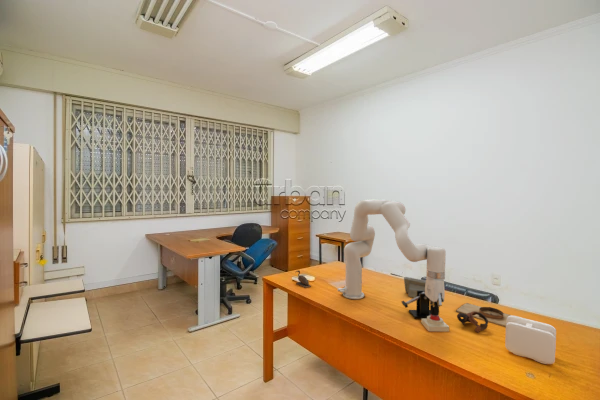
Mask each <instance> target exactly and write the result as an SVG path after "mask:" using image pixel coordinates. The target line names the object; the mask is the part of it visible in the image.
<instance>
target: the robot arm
mask: <svg viewBox="0 0 600 400" xmlns="http://www.w3.org/2000/svg"><path fill="white" fill-rule="evenodd" d="M353 210H354V212H353V219H352V222H351V227H350V232H349V237H350V239H351V241H352V242H349V243H347V244H345V246H344V248H343V254H344V259H345V260H344V262H345V284H344V285H345V286H344V287H337V292H339V293H342V296H343V297H344V298H347V299H349V300H361V299H363V298H365V293H364V292H363V265H362V261H361V259H360V258H365V257H368V256H369V255H370V254H371V252H372V249H373V245H374V240H375V237H376V232H375V228H374V227H373V225H371V224H369V215H370V216H371V215H373V216H374V215H375V216H376V215H382V217H383V218H384V220H385V221H386V222H387V223H388V225H389V226H390V227H391V229H392V230H393V232H394V237H395V241H396V245H397V247H398V249H399V250H400V252H401V253H402V255H403V256H404V258H406V259H407V260H408V261H409V262H413V263H417V262H420V261H426V274H425V275H426V276H425V277H426V278H425V280H426V283H425V295H426V296H427V297H428V298H429V299H430V307H429V310H430V313H431V314H432V315H439V316H440V307H442V306H443V303H444V302H445V299H446V298H445V297H446V295H445V293H446V291H445V280H446V255H447V253H446V249H445V248H443V247H440V246H432V245H429V244H427V243H417V244H414V242H413V241H412V240H411V238H410V236H409V234H408V230H409V228H410V226H411V223H410V222H409V220H408V219H407V217H406V216H405V214H406V206H405V205H404V204H403V203H402V202H401V201H396V200H389V199H381V198H380V199H379V198H378V199H377V198H375V199H372V198H371V199H362V200H359V201H358V202H356V203H355V206H354V209H353Z"/></svg>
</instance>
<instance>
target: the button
mask: <svg viewBox="0 0 600 400" xmlns="http://www.w3.org/2000/svg"><path fill="white" fill-rule="evenodd" d="M439 317H440V314H439V315H432V314H431V319H432V320H435V321H439Z"/></svg>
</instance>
